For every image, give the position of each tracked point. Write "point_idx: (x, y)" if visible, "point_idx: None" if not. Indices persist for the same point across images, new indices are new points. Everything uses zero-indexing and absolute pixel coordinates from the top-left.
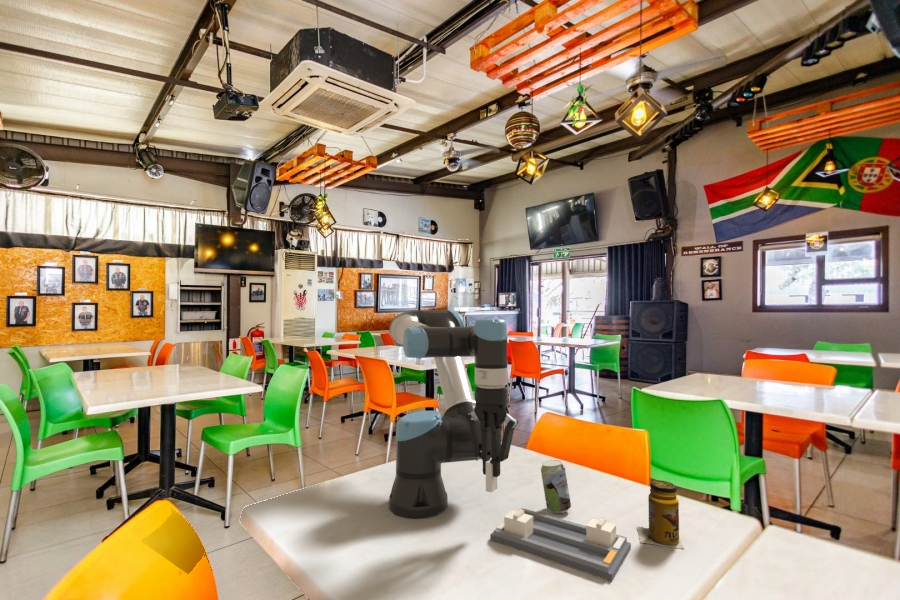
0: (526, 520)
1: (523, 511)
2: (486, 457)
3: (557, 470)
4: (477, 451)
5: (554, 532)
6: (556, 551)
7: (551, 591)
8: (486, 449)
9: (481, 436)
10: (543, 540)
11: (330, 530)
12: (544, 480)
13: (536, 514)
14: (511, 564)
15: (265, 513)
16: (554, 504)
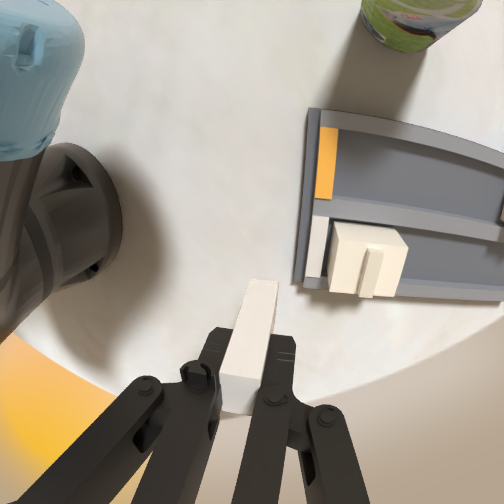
0: (395, 282)
1: (382, 259)
2: (217, 424)
3: (473, 9)
4: (155, 432)
5: (447, 225)
6: (451, 297)
7: (432, 354)
8: (206, 463)
9: (98, 464)
10: (421, 248)
11: (73, 342)
12: (395, 13)
13: (381, 134)
14: (366, 329)
15: (16, 328)
16: (409, 48)
